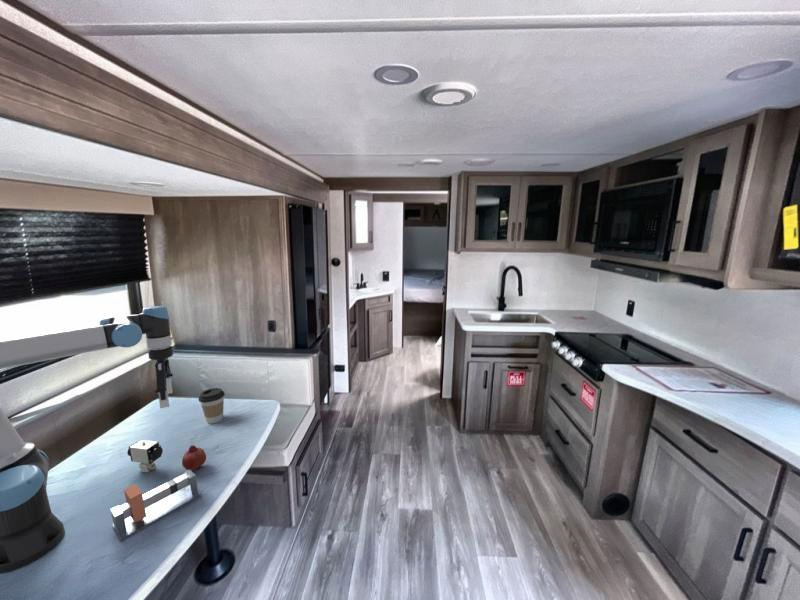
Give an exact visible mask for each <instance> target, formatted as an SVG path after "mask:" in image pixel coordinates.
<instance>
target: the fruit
mask: <svg viewBox="0 0 800 600" xmlns="http://www.w3.org/2000/svg"><path fill="white" fill-rule="evenodd" d="M181 460H182V461H181V465H182V467H183V468H184V469H185V471H188V470H191V471H192V472H193V471H196V470H198V469H199V468H200V467H202V466H203V465H204V464H205V462H206V460H207V454H206V452H205V450H204V449H203V448H202V447H196V445H193V444H192V445H190V446H189V448H188V450H187V451H186V452H185V453H184V455H183V456H182V459H181Z"/></svg>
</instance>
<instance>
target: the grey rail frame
mask: <svg viewBox="0 0 800 600" xmlns="http://www.w3.org/2000/svg"><path fill="white" fill-rule="evenodd" d="M142 495H143V500H144V506H145V511H146V517H144V518H143V519H141V520H139V521H137V522H135V523H134V521H133V519H132V518H131V516H132V510H131V506H130V504H129V502H126V503H123V504H121V505H119V504H118V505H116V506H113V507H111V508H110V514H111V518H112V519H111V520H112V522H113V523H112V528H113V531H114V532H115V534H116V536H117V537H118V539H119V541H120V543H122V542H124V541H126V540H128V539H129V538H131V537H132V536H133V537H134V536H135V535H136V534H138V533H140V532H141V531H143V530H145V529H148V528H149V527H151V526H152V525H154V524H155V523H158V522H159V521H162V519H165V518H166V517H168V516H170V515H171V514H173V513H175V512H177V511H179V510H180V509H182V508H183V507H185V506H187V505H189V504H191V503H192V502H194V501H196V500H198V499H199V498H202V495H201V493H200V492H199V489H198V482H197V475H196V474H195V473H194V472H193V471H191V470H185V471H184V472H183V474H182V475H181V474H180V475H179V476H177V477H174V478H173V479H171V480H169V481H167V482H165V483H163V484H162V485H159V486H157V487H156V488H153V489H151V490H150V491H147V492H146V493H144V494H143V493H142Z"/></svg>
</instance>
